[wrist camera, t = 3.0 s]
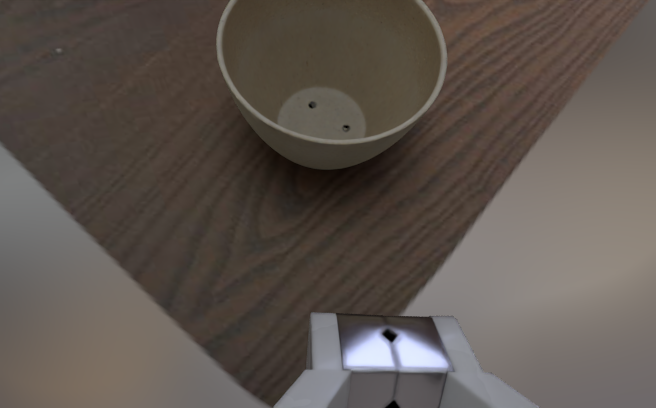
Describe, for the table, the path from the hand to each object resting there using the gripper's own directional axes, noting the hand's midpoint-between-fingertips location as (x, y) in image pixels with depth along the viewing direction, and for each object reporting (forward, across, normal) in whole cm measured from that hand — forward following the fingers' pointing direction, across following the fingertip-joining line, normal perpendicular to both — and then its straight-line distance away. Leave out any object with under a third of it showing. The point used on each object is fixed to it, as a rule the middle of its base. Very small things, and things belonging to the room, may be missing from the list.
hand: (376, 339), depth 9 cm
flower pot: (+18, 0, 0) cm, 18 cm away
